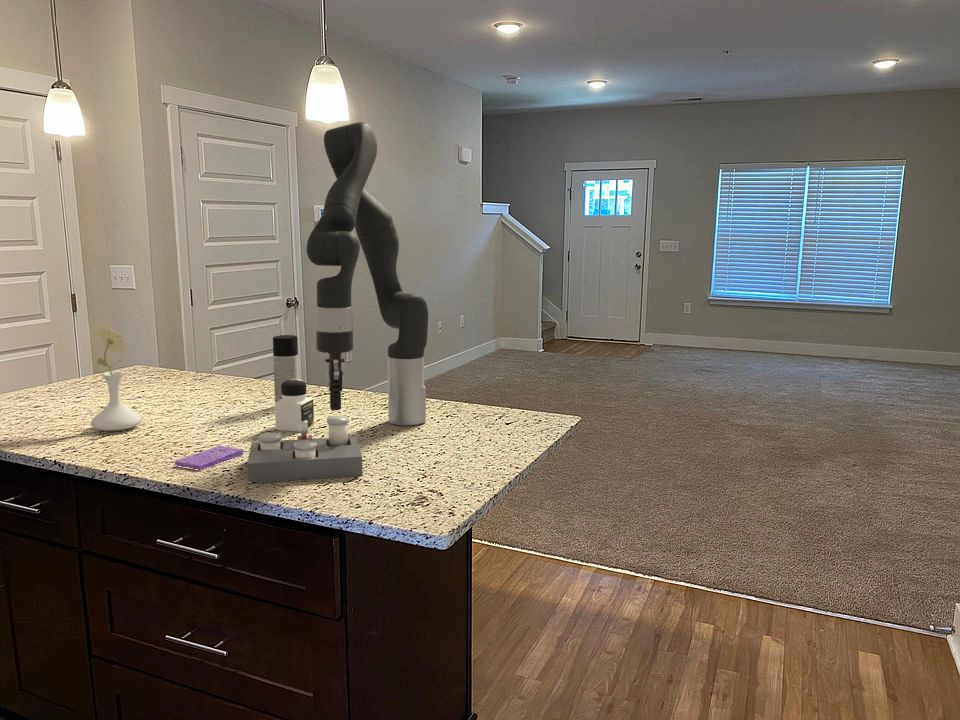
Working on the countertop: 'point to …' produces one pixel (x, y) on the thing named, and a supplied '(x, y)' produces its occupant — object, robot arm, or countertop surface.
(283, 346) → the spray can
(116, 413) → the flower in vase
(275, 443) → the knob
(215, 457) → the sponges
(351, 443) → the mount
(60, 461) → the countertop surface
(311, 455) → the knob side
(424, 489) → the countertop surface
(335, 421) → the knob
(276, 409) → the medicine bottle
